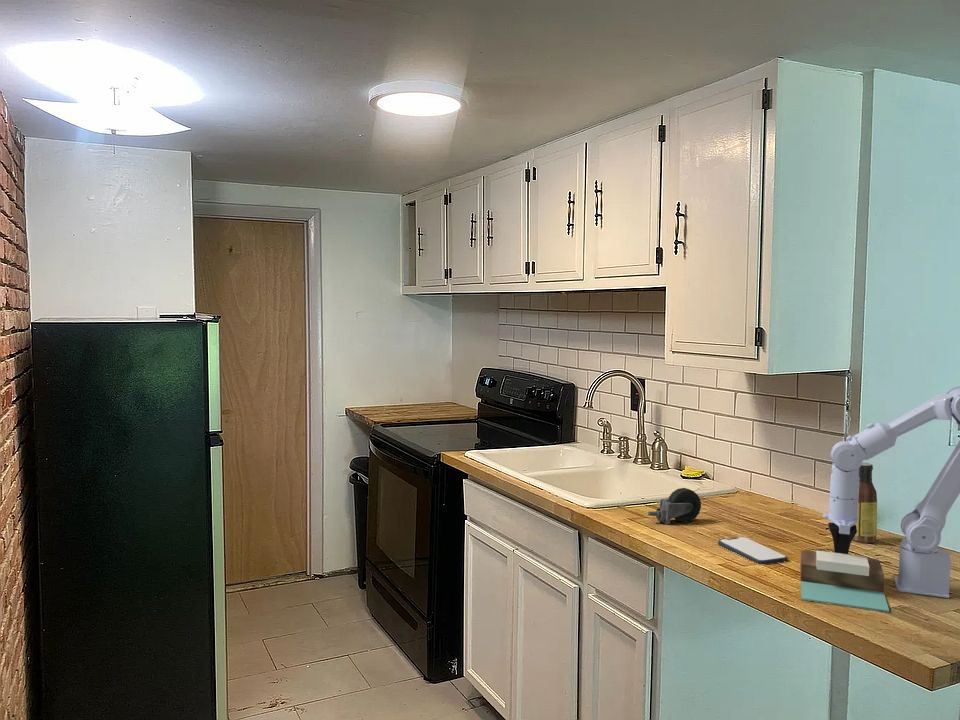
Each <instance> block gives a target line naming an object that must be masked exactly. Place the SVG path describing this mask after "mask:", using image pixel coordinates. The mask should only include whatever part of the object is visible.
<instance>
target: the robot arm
mask: <svg viewBox="0 0 960 720" xmlns="http://www.w3.org/2000/svg"><path fill="white" fill-rule="evenodd" d="M953 419H954V420H955V423H956V424H957V427H958V429H959V430H960V386H955V387H953V388H950V389H949V390H948V391H947V392H942V393H939V394H937V395H935V396H932V397H931V398H929V399H928V400H926V401H924V402H923V403H921V404H919V405H918V406H916V407H915V408H912V409H911V410H909V411H907V412H906V413H904V414H902V415H901V416H899V417H897V418H896V419H894V420H893V421H891V422H889V423H883V422H877V423H875V424H874V423H873V422H870V423H868V424H867V425H866V427H867V428H866V429H863V430H862V431H861V432H858V433H856V434H854V435H853V436H851V435H848V436H847V437H845V439H846V440H845V441H844V440H841V441H838V442H836V443H835V444H834V445H833V447H832V448H831V451H830V452H829V454H830V455H829V456H830V458H831V460H832V466H831V468H830V469H831V474H830V480H829V481H830V483H829V500H828V501H829V503H828V505H829V506H828V513H822V518H823V519H824V520H825V519H826V520H829V521H830V522H828V523H827V525H828V530H829V532H830V534H831V537H832V541H833V550H834V551H833V552H834V553H841V554H849V550H850V547H851V544H852V541H853V540H852V539H853V537H854V536H855V535H856V533H857V529H856V528H857V527H856V525H855V524H856V523H858V517H857V516H858V497H859V467H860V466H861V465H862V463H864V461H868V460H870V459H873V458H874V457H875V456H878V455H879V454H882V453H884V452H885V451H887V450H889V449H890V448H892V447H895V445H896V442H897V438H899V437H901V436H902V435H905V434H906V433H908V432H910V431H913V430H914V429H917V428H919V427H921V426H923V425H925V424H927V423H928V422H931V421H933V420H943V421H944V420H945V421H952V420H953ZM959 496H960V440H959V441H958V443H957V444H956V446H955V447H954V449H953V451H952V452H951V454H950V455H949V457H948V458H947V461H946V462H945V463H944V465H943V467H942V468H941V470H940V472H939V473H938V474H937V477H936V478H935V480H934V482H933V483H932V485H931V486H930V488H929V489H928V491H927V493H926V495H925V496H924V498H923V499H922V500H921V501H920V502H918V503H917V504H916V505H915V506H914V508H913V509H912V510H911V511H910V512H909V513H906V514H905V515H904V516H903V517H902V518H901V521H900V529H901V532H902V533H903V535H904V537H903V539H902V540H900V543H899V555H898V557H899V558H898V576H896V577H893V582H894V583H895V587H896V589H897V591H898V592H901V593H908V594H909V593H910V594H916V595H923V596H931V597H939V598H947V599H949V598H950V583H951V582H950V581H951V570H952V568H951V567H952V565H951V563H952V562H951V554H950V552H949V551H947V550H944V549H943V550H941V549H940V547H939V545H940V544H941V540H942V531H943V529H944V528H945V526H946V523H947V522H946V521H947V515H948V513H949V511H950V510H951V508H952V506H954V503H955V502H956V500H957V498H958V497H959Z"/></svg>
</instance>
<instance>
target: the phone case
mask: <svg viewBox="0 0 960 720" xmlns="http://www.w3.org/2000/svg"><path fill="white" fill-rule="evenodd" d="M717 544H718V545H717V546H718V547H720V546H722V547H724V548H723V549H725V548H726V549H725V550H727V549H728V550H727V551H729V550H730V551H729V552H731V551H732V552H731V553H733V552H735V553H737V554H739V555H741V556H740V557H742V556H743V557H742V558H744V557H745V558H744V559H746V558H747V559H746V560H748V559H749V560H748V561H750V560H751V561H750V562H752V561H754V562H756V563H755V564H757V563H758V564H757V565H760V564H766V565H772V564H771V563H773V564H778V563H777V562H781V563H785V562H784V561H787V562H788V559H789V558H788V556H787V555H785V554H783V553H780V552H779V551H777V550H774V549H772V548H770V547H768V546H765V545H763V544H761V543H759V542H757V541H754V540H752V539H750V538H748V537H744V536H739V537H738V536H737V537H731V538H724V539H723V538H722V539H719V540H718V543H717ZM722 547H721V548H722ZM735 553H734V554H735ZM737 554H736V555H737ZM739 555H738V556H739ZM754 562H753V563H754Z"/></svg>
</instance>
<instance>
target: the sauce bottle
mask: <svg viewBox="0 0 960 720" xmlns="http://www.w3.org/2000/svg"><path fill="white" fill-rule="evenodd" d="M873 470H874V466H873V464H872V463H869V462H862V465H861V466H860V467H859V497H858V516H857V517H858V523H856V524H855V525H856V527H857V528H856V529H857V533H856V535H855V536H854V537H853V539H852V541H855V542H857V541H858V543H862V544H873V543H876V541H877V536H878V498H877V497H878V496H877V495H878V494H877V490H876V488H875V486H874V483H873Z"/></svg>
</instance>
